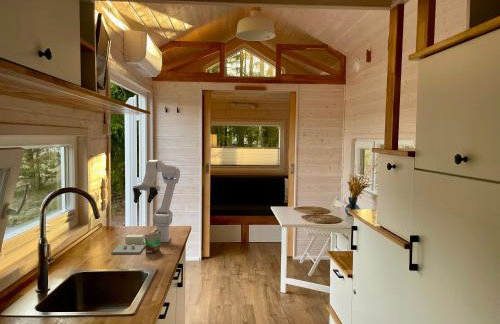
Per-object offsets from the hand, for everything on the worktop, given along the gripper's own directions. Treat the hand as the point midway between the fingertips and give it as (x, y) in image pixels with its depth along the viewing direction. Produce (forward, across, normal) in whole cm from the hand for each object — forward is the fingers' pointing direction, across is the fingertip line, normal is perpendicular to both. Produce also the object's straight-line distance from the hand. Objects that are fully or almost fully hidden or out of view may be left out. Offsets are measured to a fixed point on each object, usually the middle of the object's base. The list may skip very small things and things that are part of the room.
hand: (141, 202), depth 186 cm
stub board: (+17, -11, +19) cm, 28 cm away
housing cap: (+10, -15, +28) cm, 33 cm away
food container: (+17, +3, +22) cm, 28 cm away
